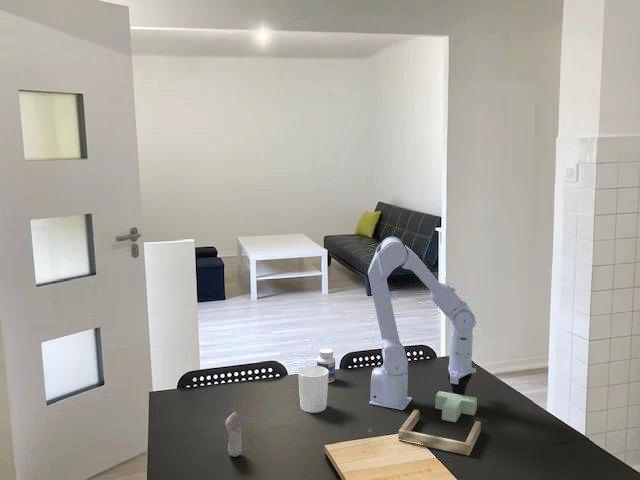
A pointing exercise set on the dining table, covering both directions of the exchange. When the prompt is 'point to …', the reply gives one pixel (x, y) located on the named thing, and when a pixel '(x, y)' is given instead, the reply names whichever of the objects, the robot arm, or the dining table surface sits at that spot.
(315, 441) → the dining table surface
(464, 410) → the tee
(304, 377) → the white cup
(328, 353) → the pill bottle
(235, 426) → the fossil
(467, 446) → the dock
